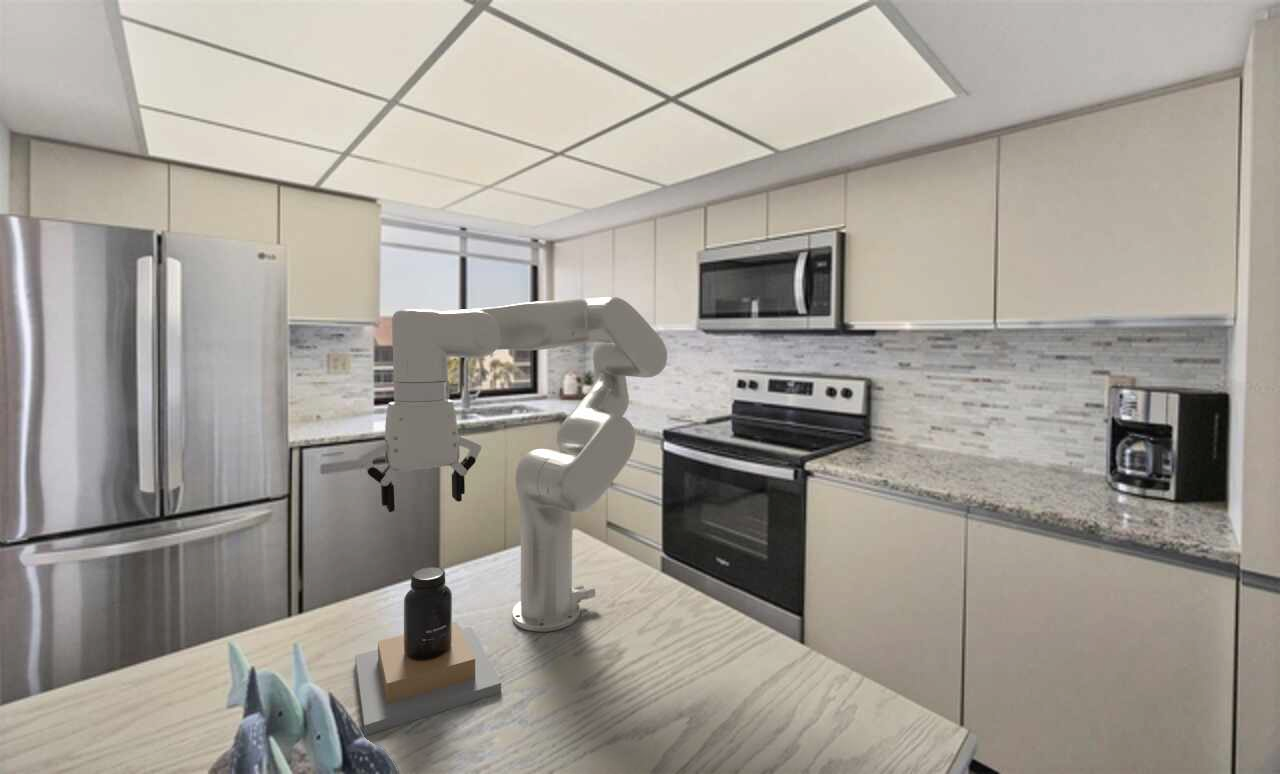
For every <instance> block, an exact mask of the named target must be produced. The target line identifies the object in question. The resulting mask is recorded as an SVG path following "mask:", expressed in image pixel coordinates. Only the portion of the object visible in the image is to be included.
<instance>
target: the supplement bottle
mask: <svg viewBox="0 0 1280 774" xmlns="http://www.w3.org/2000/svg"><path fill="white" fill-rule="evenodd" d="M410 580H411V581H410V590H408V591H407V593H406V594H405V596H404V598H403V635H404V652H405V654H406V655H407V656H408V657H409V658H411V659H415V660H428V659H433V658H436V657H439V656H441V655H442V654H444V653H445V652H446V651H447V650H448V649H449V648H450V646H451V641H452V623H453V593H452V591H451V589H450V587H449V586H447V585H446V571H445V569H444V568H442V567H439V566H438V567H437V566H430V567H429V566H426V567H421V568H420V569H417V570H415V571H413V572H412V573H411V578H410Z"/></svg>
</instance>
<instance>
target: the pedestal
mask: <svg viewBox="0 0 1280 774" xmlns="http://www.w3.org/2000/svg"><path fill="white" fill-rule="evenodd" d="M460 627H461V626H459V624H458V622H457V621H456V622H452V641H451V646H450V648H449V649H448V650H447V651H446V652H445V653H444V654H442V655H441V656H439V657H436V658H433V659H428V660H415V659H411V658H409V657H408V656H407V655H406V654H405V652H404V634H401V635H397V636H394V637H389V638H385V639H382V640H377V649H374V650H369V651H366V652H362V653H358V654H355V655H354V656H355V657H354V659H355V660H354V661H355V671H356V679H357V684H358V685H357V686H358V693H359V700H360V709H361V717H362V722H363V723H362V724H363V733H364V736H365V737H367V736H369V735H373V734H376V733H378V732H382V731H385V730H388V729H391V728H394V727H397V726H401V725H404V724H407V723H410V722H413V721H416V720H419V719H422V718H425V717H429V716H431V715H436V714H438V713H440V712H444V711H447V710H450V709H454V708H458V707H459V706H463V705H466V704H469V703H472V702H475V701H479V700H482V699H485V698H488V697H491V696H495V695H497V694H501V693H502V682H501V680H500V678H499V676H498V674H497V673H496V670H495V669H494V667H493V665H492V663H491V661H490V659H489V657H488V655H487V654H486V652H485V650H484V649H483V646H482V644H481V643H480V641H479V639H478V638H477V637H478V636H477V635H476V633H475V631H474V629H473V628H472V626H471V625H470V626H467V627H463V628H460Z"/></svg>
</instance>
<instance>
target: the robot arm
mask: <svg viewBox="0 0 1280 774" xmlns="http://www.w3.org/2000/svg"><path fill="white" fill-rule="evenodd" d="M391 337H392V338H391V339H392V340H391V342H392V364H393V365H392V367H393V369H392V371H393V400H394V401H390V402H388V404H387V409H386V416H385V427H384V429H385V431H384V441H383V442H382V443H380V444H378V445H376V446H374V447H373V448H371V449H369V450H367V451H366V452H364V453H362V454H360V455H359V456H358V461H359V462H360V464H361V465H362V467H363V468H364V470H365V471H366V472H367V474H368V476H370V478H372V479H374V480H375V481H376V482H378V483H379V484H380V492H381V505H382V507H384V506H386V509H387V511H388V513H393V512H395V511H396V509H395V507H396V506H395V486H394V484H393V482H392V480H393V479H394V478H395V477H396V476H397V475H398V473H399V472H409V471H414V470H415V471H416V470H425V469H432V468H433V469H434V468H440V467H448V466H450V467H451V468H452V470H453V472H452V473H451V496H452V498H453V499H454V500H455V501H456V502H459V503H460V502H462V500H463V499H462V498H463V497H462V495H465V488H466V487H465V485H466V484H465V476H466V475H467V474H468V471H469V470H470V469H471V468H472V467H473V465H474V464H475V463H476V462H477V460H476V459H477V458H478V457H479V454H480V452H481V450H482V446H481V444H479V443H477V442H474V441H472V440H469V439H467V438H465V437H462V436H460V435H459V428H458V423H457V421H458V420H457V414H456V409H455V405H454V403H453V400H451V399H449V398H450V396H451V394H453V393H458V390H459V388H458V387H459V386H458V384H457V383H452V382H450V381H449V380H448V379H449V377H448V375H449V372H448V368H449V367H448V358H451V357H452V358H453V357H454V358H464V359H481V358H482V359H483V358H485V357H488V356H490V355H492V354H494V352H496V351H498V350H514V351H515V350H516V351H538V350H540V351H541V350H550V349H554V348H561V347H566V346H567V347H568V346H575V345H581V344H587V343H596V344H595V346H594V349H593V355H592V362H593V370H594V371H593V372H594V373H593V374H594V375H593V377H594V378H593V383H592V386H591V388H590V389H589V391H588V392H587V394H585V396H584V397H583V399H582V400H581V401H579V403H578V404H577V405H576V406H575V407H574V409H573V410H572V411H571V412H570V413H569V414H568V416H567V417H566V418H565V419H564V421H562V423H561V424H560V426H559V427H558V430H557V434H556V442H557V445H558V446H559V448H560V449H561V450H562V451H560V450H555V449H552V448H551V449H550V448H537V449H533V450H531V451H529V452H527V453H526V454H524V455H523V456H522V457H521V459H520V460H519V462H518V464H517V466H516V471H515V486H516V487H515V488H516V493H517V498H518V503H519V504H518V505H519V512H520V601H518V603H516V604H515V605H514V606H513V608H512V611H511V619H512V622H513V623H514V624H515V625H516V626H517V627H519V628H521V629H522V630H527V631H530V632H539V633H541V632H545V633H546V632H553V631H558V630H561V629H564V628H567V627H568V626H571V625H573V624H574V623H575V622H576V621H577V620H578V619H579V617H580V611H581V609H580V604H579V603H581V602H582V601H584V600H588V599H592V598H595V597H596V589H595V587H593V586H591V587H587V588H584V585H583V584H579V585H576V586H573V535H574V534H573V533H574V532H573V528H574V527H573V525H574V524H573V517H572V512H573V513H582V512H585V511H588V510H589V509H591V508H593V506H594V505H596V504H597V503H598V501H599V500H600V499H601V498H602V497H603V495H604V494H605V493H606V492H607V490H608V489H609V488H610V486H611V485H612V483H613V482H614V481H615V480H616V478H617V477H618V476H619V474H620V473H621V471H622V470H623V468H624V467H626V464H627V463H628V462H629V460H630V458H631V457H632V455H633V454H632V453H633V451H634V449H635V444H636V432H635V429H634V425H633V424H632V422H630V420H629V419H627V418H626V417H624V415H625V414H626V411H627V409H628V408H629V403H630V396H629V391H628V386H627V385H628V384H627V378H626V377H633V378H634V377H635V378H636V377H637V378H646V379H647V378H654V377H655V376H658V375H659V374H661V373H662V372H663V370H664V369H665V368H666V365H667V360H668V351H667V350H668V349H667V347H666V344H665V342H664V340H663V338H662V337H660V335H659V334H658V333H657V332H656V331H655V329H654V328H653V327H652V326H651V325H650V324H649V323H648V322H647V320H646V319H645V318H644V317H643V316H642V315H641V314H640V313H639V312H638V310H637V309H636V308H634V307H633V306H632V305H631V304H630V303H629V302H627V301H626V300H625V299H622V298H620V297H617V296H611V297H609V296H608V297H591V298H590V297H588V298H587V297H586V298H571V299H559V300H546V301H545V300H544V301H532V302H523V303H517V304H516V303H515V304H510V305H504V306H494V307H484V308H483V307H481V308H471V309H469V308H468V309H458V310H457V309H455V310H443V311H439V310H434V309H400V310H397V311H395V312H394V314H393V315H392V317H391ZM460 447H463V448H465V449H468V452H467V455H466V456H465V457H464V459H462V461H460V462H459V460H460ZM382 455H384V459H385V460H384V461H385V463H386V464H387V465H386V466H385V468H384V469H383V470H382V471H381V470H380V469H378V468H377V467H376V466H375V464H374V463H373V461H375V459H377V458H379V457H381V456H382Z"/></svg>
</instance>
